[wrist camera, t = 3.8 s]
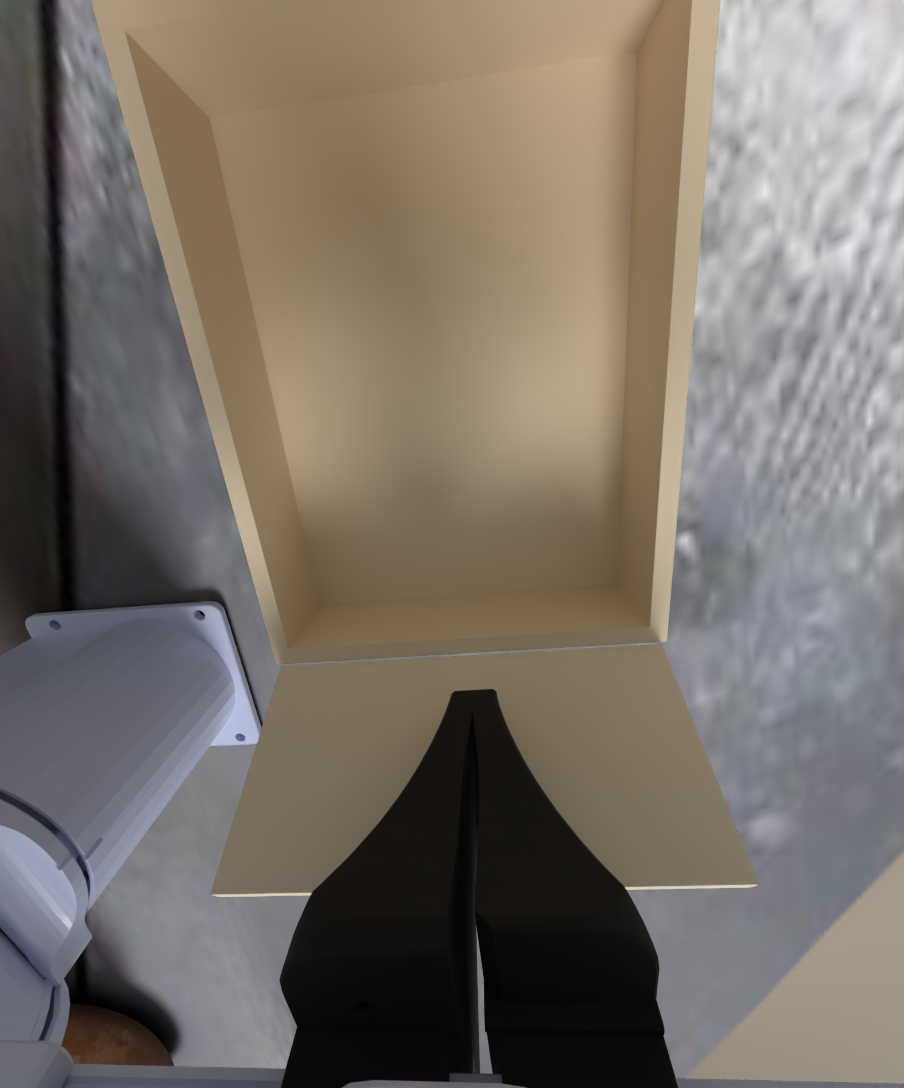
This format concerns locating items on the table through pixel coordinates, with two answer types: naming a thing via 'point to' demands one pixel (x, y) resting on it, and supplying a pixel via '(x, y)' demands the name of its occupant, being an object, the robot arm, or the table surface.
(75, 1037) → the ceramic jug
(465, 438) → the carton
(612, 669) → the flap
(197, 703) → the robot arm
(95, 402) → the table surface
